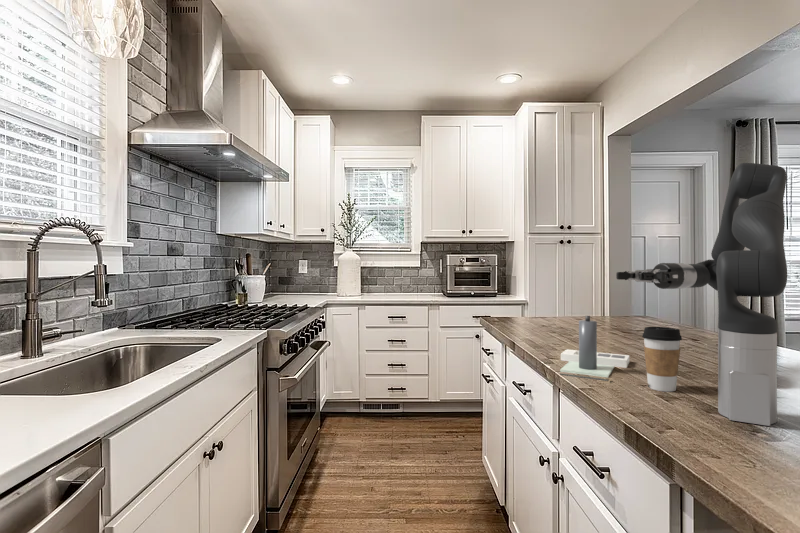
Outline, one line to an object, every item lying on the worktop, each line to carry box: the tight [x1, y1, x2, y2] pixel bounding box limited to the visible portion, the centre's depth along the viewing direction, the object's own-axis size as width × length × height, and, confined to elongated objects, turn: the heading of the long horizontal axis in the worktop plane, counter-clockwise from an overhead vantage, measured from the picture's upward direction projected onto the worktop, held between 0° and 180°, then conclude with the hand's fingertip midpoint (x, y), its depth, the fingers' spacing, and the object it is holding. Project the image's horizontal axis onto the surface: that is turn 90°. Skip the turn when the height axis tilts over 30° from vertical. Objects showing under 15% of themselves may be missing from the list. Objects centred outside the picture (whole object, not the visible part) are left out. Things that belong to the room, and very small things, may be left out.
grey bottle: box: [578, 315, 598, 370], centre depth 122 cm, size 5×5×14 cm
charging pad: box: [559, 361, 615, 382], centre depth 122 cm, size 12×12×2 cm
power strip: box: [560, 348, 630, 369], centre depth 130 cm, size 8×24×3 cm, turn 57°
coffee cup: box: [642, 326, 683, 393], centre depth 107 cm, size 8×8×15 cm
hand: (628, 276), depth 124 cm, fingers open, 8 cm apart
